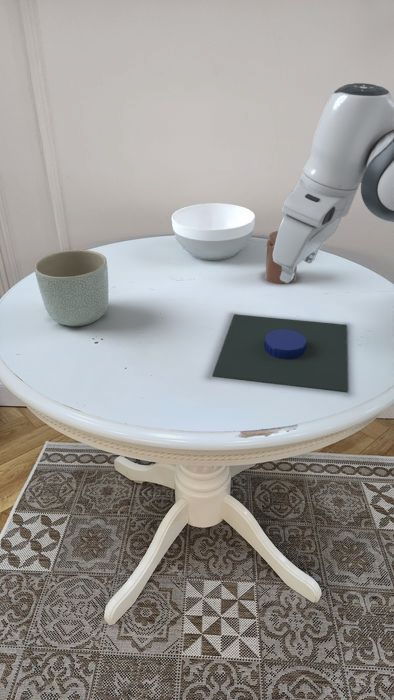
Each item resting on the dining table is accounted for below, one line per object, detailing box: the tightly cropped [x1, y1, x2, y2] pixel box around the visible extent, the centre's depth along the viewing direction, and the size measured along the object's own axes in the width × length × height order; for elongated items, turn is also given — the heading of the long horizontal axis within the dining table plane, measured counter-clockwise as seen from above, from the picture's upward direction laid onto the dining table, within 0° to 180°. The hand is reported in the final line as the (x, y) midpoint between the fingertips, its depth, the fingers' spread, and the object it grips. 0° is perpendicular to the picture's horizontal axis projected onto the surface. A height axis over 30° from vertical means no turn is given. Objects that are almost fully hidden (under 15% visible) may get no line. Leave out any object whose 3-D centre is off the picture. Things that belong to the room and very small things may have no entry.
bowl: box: [171, 202, 256, 261], centre depth 122 cm, size 19×19×9 cm
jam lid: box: [264, 329, 306, 359], centre depth 87 cm, size 7×7×2 cm
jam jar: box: [264, 230, 298, 285], centre depth 109 cm, size 6×6×10 cm
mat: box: [212, 313, 348, 393], centre depth 88 cm, size 20×20×1 cm
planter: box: [34, 249, 110, 328], centre depth 96 cm, size 12×12×11 cm
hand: (297, 270), depth 92 cm, fingers open, 8 cm apart
